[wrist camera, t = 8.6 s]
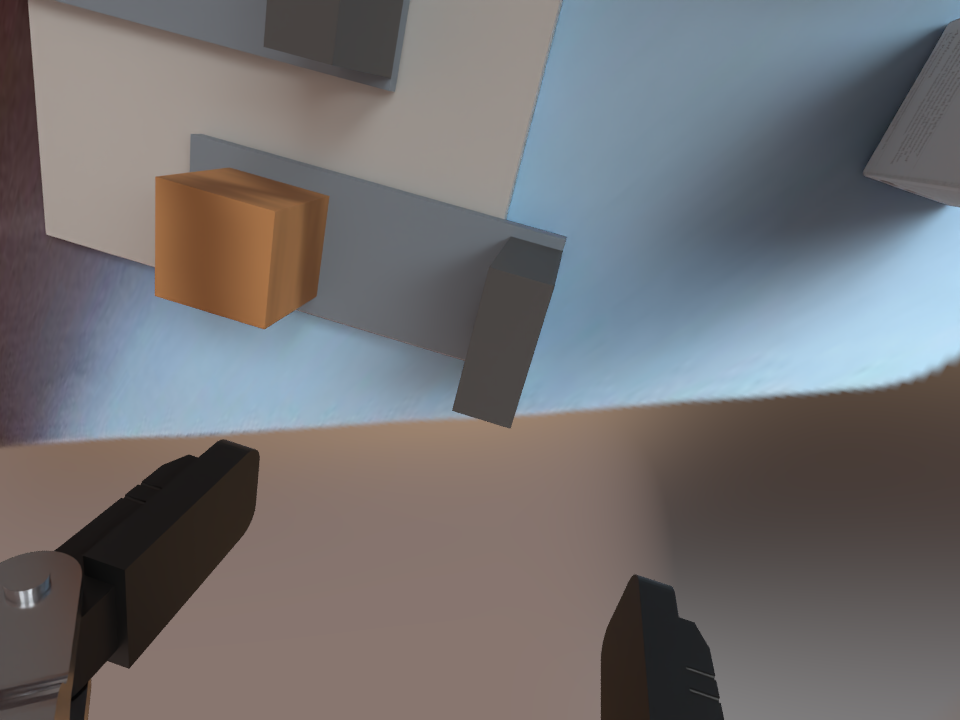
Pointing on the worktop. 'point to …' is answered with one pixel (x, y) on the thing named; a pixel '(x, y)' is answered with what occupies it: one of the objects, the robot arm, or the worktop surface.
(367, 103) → the lane board
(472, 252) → the strip with cube
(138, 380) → the worktop surface
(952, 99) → the skincare box
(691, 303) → the worktop surface
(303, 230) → the cube
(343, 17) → the strip empty
